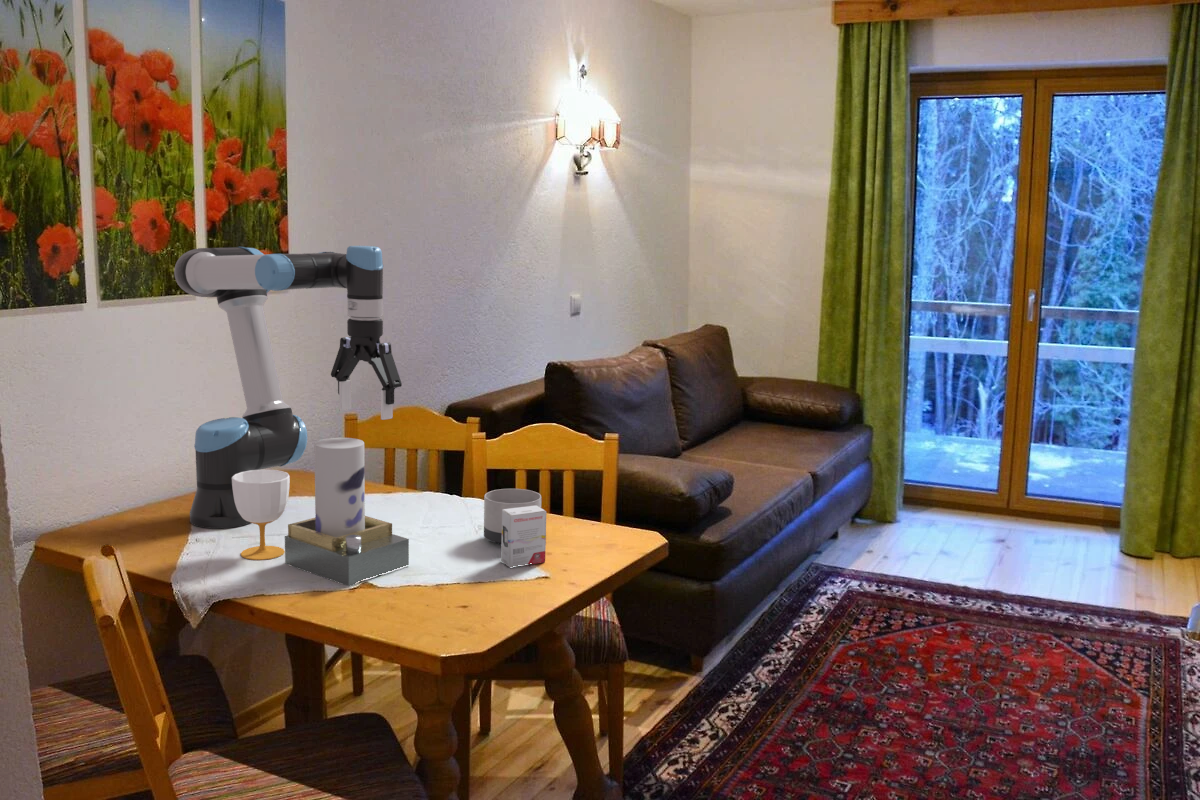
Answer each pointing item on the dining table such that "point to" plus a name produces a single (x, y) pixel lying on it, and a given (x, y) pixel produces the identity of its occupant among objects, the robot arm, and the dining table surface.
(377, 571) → the grey boxy piece
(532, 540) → the ink box
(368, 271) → the robot arm
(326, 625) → the dining table surface
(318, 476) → the container
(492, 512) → the planter
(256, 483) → the cup
